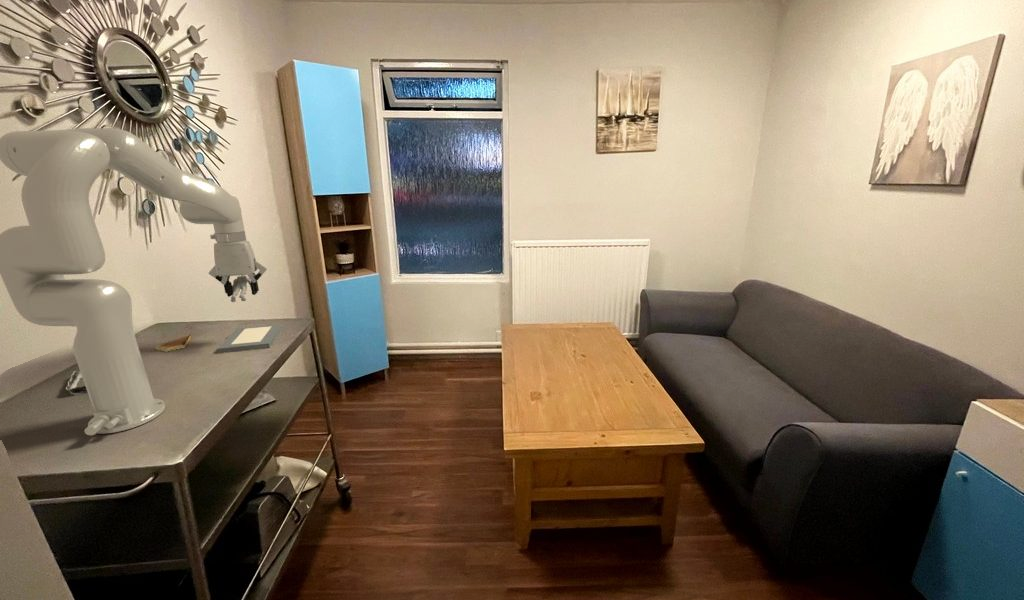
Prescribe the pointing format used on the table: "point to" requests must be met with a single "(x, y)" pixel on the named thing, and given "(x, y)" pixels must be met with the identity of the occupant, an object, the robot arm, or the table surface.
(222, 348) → the base plate
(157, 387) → the table surface
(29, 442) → the table surface
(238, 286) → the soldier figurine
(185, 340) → the shard
